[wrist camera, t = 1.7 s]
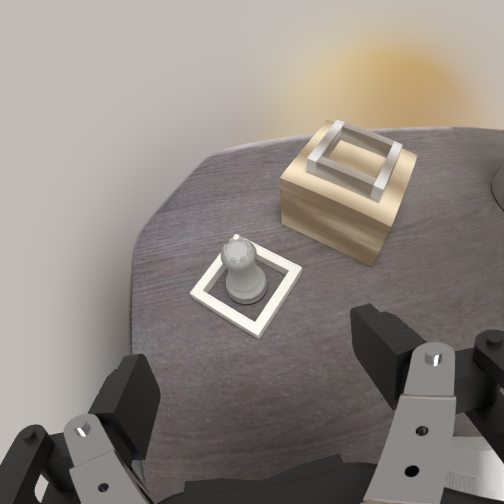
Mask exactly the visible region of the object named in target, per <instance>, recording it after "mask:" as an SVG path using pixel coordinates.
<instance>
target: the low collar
mask: <svg viewBox="0 0 504 504" xmlns="http://www.w3.org/2000/svg"><path fill="white" fill-rule="evenodd" d="M239 237H241V236H239V235H237V234H235V235H234V237H233V238H234V240H235V239H238V238H239ZM244 240H247V239H245V238H244ZM250 242H251V241H250ZM251 243H253V242H251ZM253 245H254V246H255V248H256V252H257V256H256V260H258V261H260V262H262V263H264V264H265V265H267V266H269V267H271V268H273V269H275V270H277V271H279V272H281V273H283V274H285V275H286V276H285V278H284V279H283V281H282V282H281V284H280V285H279V287H278V288H277V290H276V292H275V293H274V295H273V296H272V298H271V299H270V301H269V302H268V304H267V305H266V307H265V308H264V310H263V311H262V313H261V314H260V316H259V317H258V319H257V320H256V322H254V321H252V320H250V319H249V318H247V317H245V316H244V315H242V314H240V313H239V312H237V311H235V310H234V309H232V308H230V307H229V306H227V305H225V304H224V303H222V302H220V301H219V300H217V299H216V298H214V297H212V296H211V295H209V294H208V292H209V291H210V290H211V288H212V287H213V286H214V284H215V283H216V282H217V280H218V279H219V278H220V276H221V275H222V274H223V272H224V271H225V270H226V266H224V265H223V263H222V261H221V253H220V255H219V256H218V257H217V258H216V260H215V261H214V262H213V264H212V265H211V266H210V268H209V269H208V270H207V271H206V273H205V274H204V275H203V277H202V278H201V279H200V281H199V282H198V283H197V284H196V286H195V287H194V288H193V290H192V291H191V292H190V294H191V296H192V297H193V298H194V299H195V300H197V301H198V302H200V303H201V304H203V305H204V306H206V307H207V308H209V309H211V310H212V311H214V312H215V313H217V314H218V315H220V316H222V317H223V318H225V319H226V320H228V321H230V322H231V323H233V324H235V325H236V326H238V327H239V328H241V329H243V330H244V331H246V332H248V333H249V334H251V335H253V336H254V337H256V338H258V339H260V338H261V336H262V334H263V333H264V331H265V330H266V328H267V327H268V325H269V324H270V322H271V321H272V319H273V318H274V316H275V315H276V313H277V312H278V310H279V309H280V307H281V305H282V304H283V302H284V301H285V299H286V298H287V296H288V294H289V293H290V291H291V290H292V288H293V287H294V285H295V283H296V282H297V280H298V279H299V277H300V275H301V274H302V267H300V266H298V265H296V264H294V263H292V262H290V261H288V260H286V259H284V258H282V257H280V256H278V255H276V254H274V253H272V252H270V251H268V250H267V249H265V248H263V247H261V246H259V245H257V244H255V243H253Z"/></svg>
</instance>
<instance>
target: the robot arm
mask: <svg viewBox="0 0 504 504" xmlns="http://www.w3.org/2000/svg"><path fill="white" fill-rule="evenodd" d="M492 192H493V194H494V197H495V199H496V200H497V202H498V203H499V205H500V206H501V207H502V208H503V210H504V163H503V164H502V166H501V168H500V170H499V171H498V173H497V175H496V176H495V178H494V180H493V182H492ZM350 318H351V330H352V344H353V349H354V353H355V355H356V357H357V359H358V361H359V362H360V363H361V365H362V366H363V368H364V369H365V371H366V372H367V373H368V375H369V376H370V378H371V379H372V381H373V382H374V384H375V385H376V386H377V388H378V389H379V391H380V392H381V394H382V395H383V397H384V398H385V400H386V401H387V402H388V404H389V405H390V407H391V408H392V410H395V409H396V412H395V416H394V419H393V422H392V426H391V429H390V432H389V435H388V438H387V441H386V444H385V447H384V449H383V452H382V455H381V458H380V460H379V463H378V465H377V464H371V463H360V462H357V463H343V461H342V458H341V456H340V454H337V455H334V456H331V457H327V458H324V459H320V460H317V461H313V462H309V463H305V464H301V465H299V466H297V467H295V468H292V469H290V470H288V471H285V472H283V473H281V474H278V475H276V476H273V477H271V478H268V479H266V480H261V481H254V480H235V479H212V480H200V481H185V489H184V492H181V493H178V494H175V495H173V496H170V497H168V498H166V499H164V500H162V501H161V502H159V503H158V502H157V500H156V499H155V498H154V497H153V495H152V494H151V493H150V491H149V490H148V488H147V487H146V486H145V484H144V483H143V481H142V480H141V479H140V477H139V476H138V474H137V473H136V471H135V470H134V468H133V467H132V466H131V464H132V461H133V460H145V458H146V454H147V449H148V445H149V441H150V437H151V433H152V429H153V425H154V421H155V418H156V414H157V410H158V406H159V402H160V389H159V386H158V384H157V381H156V379H155V377H154V375H153V373H152V370H151V368H150V366H149V363H148V361H147V359H146V357H145V356H144V355H143V354H137V355H129V356H125V357H124V358H123V359H122V361H121V363H120V365H119V367H118V369H115V370H114V371H113V372H112V373H111V374H110V375H109V376H108V377H107V378H106V380H105V382H104V384H103V387H101V389H100V391H99V394H98V395H97V397H96V398H95V400H94V402H93V404H92V406H91V408H90V410H89V412H88V414H82V415H79V416H76V417H74V418H73V419H71V420H70V421H69V422H68V423H67V424H66V426H65V428H64V432H63V433H58V434H53V435H49V434H48V433H47V432H46V430H45V429H44V428H43V426H41V425H30V426H28V427H26V428H24V429H23V430H22V431H21V432H20V433H19V434H18V435H17V437H16V438H15V440H14V442H13V443H12V445H11V447H10V449H9V451H8V452H7V454H6V456H5V458H4V459H3V461H2V463H1V465H0V504H81V503H82V504H504V501H501V500H496V499H491V498H486V497H482V496H477V495H473V494H469V493H465V492H461V491H457V490H454V489H450V488H447V487H444V484H445V480H446V475H447V470H448V464H449V458H450V452H451V446H452V438H453V430H454V421H455V414H458V413H462V412H464V413H465V414H466V415H467V416H468V418H469V419H470V420H471V421H472V423H473V424H474V425H475V427H476V428H477V429H478V430H479V432H480V433H481V434H482V436H483V437H484V438H485V440H486V441H487V442H488V444H489V445H490V446H491V448H492V449H493V450H494V452H495V453H496V454H497V456H498V457H499V458H500V460H501V461H502V462H503V464H504V395H503V394H502V393H501V392H500V388H501V387H502V388H503V389H504V332H503V331H500V330H487V331H484V332H482V333H480V334H479V335H478V336H477V337H476V339H475V345H474V348H470V349H465V350H461V351H455V352H454V350H453V349H452V348H451V347H450V346H449V345H447V344H444V343H440V342H430V343H427V342H426V341H425V340H424V339H423V338H421V337H420V336H419V335H418V334H417V333H416V332H415V331H413V330H412V329H411V328H409V326H408V325H407V324H405V323H403V321H402V320H401V319H400V318H398V317H397V316H396V315H394V314H391V313H388V312H382V313H380V312H379V311H378V310H377V309H376V308H375V307H374V306H372V305H371V304H370V303H369V304H365V305H362V306H359V307H355V308H352V309H351V311H350ZM40 474H41V475H42V476H43V477H44V478H45V479H46V480H47V481H48V482H49V483H48V486H47V488H46V491H45V494H44V496H43V499H42V502H41V503H40V502H39V501H38V500H37V498H36V496H35V492H34V490H35V486H36V483H37V481H38V479H39V476H40Z"/></svg>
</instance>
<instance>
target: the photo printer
mask: <svg viewBox="0 0 504 504" xmlns="http://www.w3.org/2000/svg"><path fill="white" fill-rule="evenodd" d="M444 487H447V488H450V489H454V490H457V491H461V492H465V493H469V494H473V495H477V496H482V497H486V498H491V499H496V500H501V501H504V464H503V462H502V461H501V460H500V458H499V457H498V456H497V454H496V453H495V452H494V450H493V449H492V448H491V446H490V445H489V444H488V442H487V441H486V440H485V438H484V437H453V438H452V446H451V452H450V458H449V464H448V470H447V475H446V480H445V484H444Z"/></svg>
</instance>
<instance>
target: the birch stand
mask: <svg viewBox="0 0 504 504" xmlns="http://www.w3.org/2000/svg"><path fill="white" fill-rule="evenodd" d="M416 158H417V155H415V154H413V153H411V152H409V151H406V150H404V149H402V144H400V143H397V142H395V141H393V140H390V139H388V138H385V137H383V136H380V135H378V134H375V133H373V132H370V131H367V130H365V129H362V128H359V127H356V126H354V125H351V124H348V123H345V122H342V121H340V120H336V122H335V123H334V122H331V121H328V120H327V121H326V122H325V123H324V124H323V125H322V127H321V128H320V129H319V130H318V132H317V133H316V134H315V135H314V136H313V138H312V139H311V140H310V141H309V142H308V144H307V145H306V146H305V147H304V149H303V150H302V151H301V152H300V153H299V155H298V156H297V157H296V158H295V160H294V161H293V162H292V163H291V164H290V166H289V167H288V168H287V169H286V171H285V172H284V173H283V174H282V176H281V177H280V196H281V222H282V224H283V225H285V226H287V227H289V228H291V229H293V230H296V231H298V232H300V233H302V234H304V235H306V236H308V237H310V238H313V239H315V240H317V241H319V242H321V243H323V244H325V245H327V246H329V247H331V248H333V249H335V250H337V251H339V252H342V253H344V254H346V255H348V256H350V257H352V258H354V259H356V260H358V261H360V262H362V263H364V264H366V265H368V266H370V267H372V266H373V264H374V262H375V260H376V258H377V256H378V254H379V252H380V250H381V248H382V246H383V244H384V241H385V239H386V237H387V235H388V233H389V231H390V228H391V226H392V224H393V221H394V219H395V216H396V214H397V211H398V208H399V206H400V203H401V201H402V198H403V195H404V193H405V190H406V187H407V184H408V182H409V179H410V176H411V173H412V170H413V167H414V164H415V161H416Z"/></svg>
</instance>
